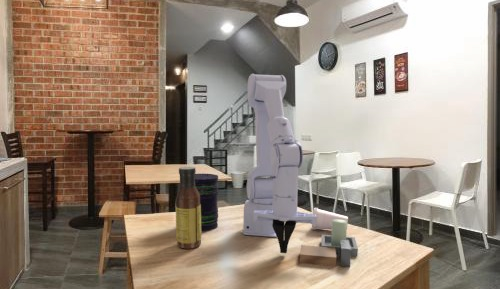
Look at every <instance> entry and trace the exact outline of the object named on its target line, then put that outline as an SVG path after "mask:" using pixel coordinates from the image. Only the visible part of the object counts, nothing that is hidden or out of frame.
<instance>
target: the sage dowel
mask: <svg viewBox="0 0 500 289" xmlns="http://www.w3.org/2000/svg"><path fill="white" fill-rule="evenodd" d="M347 230H348V225H347V221H345V220H340V219H335V220H332V229H331V235H332V237H331V246H340V239H341V240H346V237H347V234H348V232H347Z"/></svg>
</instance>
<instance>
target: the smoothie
mask: <svg viewBox="0 0 500 289" xmlns="http://www.w3.org/2000/svg"><path fill="white" fill-rule="evenodd" d="M312 214H316V225H312V224H311V229H312V230H315V231H316V230H332V220H335V219H340V220H345V221H347V226H348V224H349V216H346V215H343V214H339V213H335V212H330V211H327V210H324V209H319V207H314V208H313V212H312Z"/></svg>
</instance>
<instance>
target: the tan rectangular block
mask: <svg viewBox="0 0 500 289" xmlns="http://www.w3.org/2000/svg"><path fill="white" fill-rule="evenodd" d="M299 264H305V265H306V264H308V265H317V266H319V265H320V266H328V267H337V254H336V250H335V248H331V247H321V246H314V245H304V244H303V245H302V244H301V246H300V251H299Z"/></svg>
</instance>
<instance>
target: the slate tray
mask: <svg viewBox="0 0 500 289" xmlns="http://www.w3.org/2000/svg"><path fill="white" fill-rule="evenodd" d="M331 237H332V234H331V235H330V234H329V235H328V234H321V239H320V240H321V241H320V244H321V246H320V247H331V248H335V250H336V255H337V256H338V255H339V254H340V246H331ZM346 240H349V243H350V248H351V257H358V255H359V254H358V252H359V248H358V245H357V241H356V238H355V237H354V236H346Z"/></svg>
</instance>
